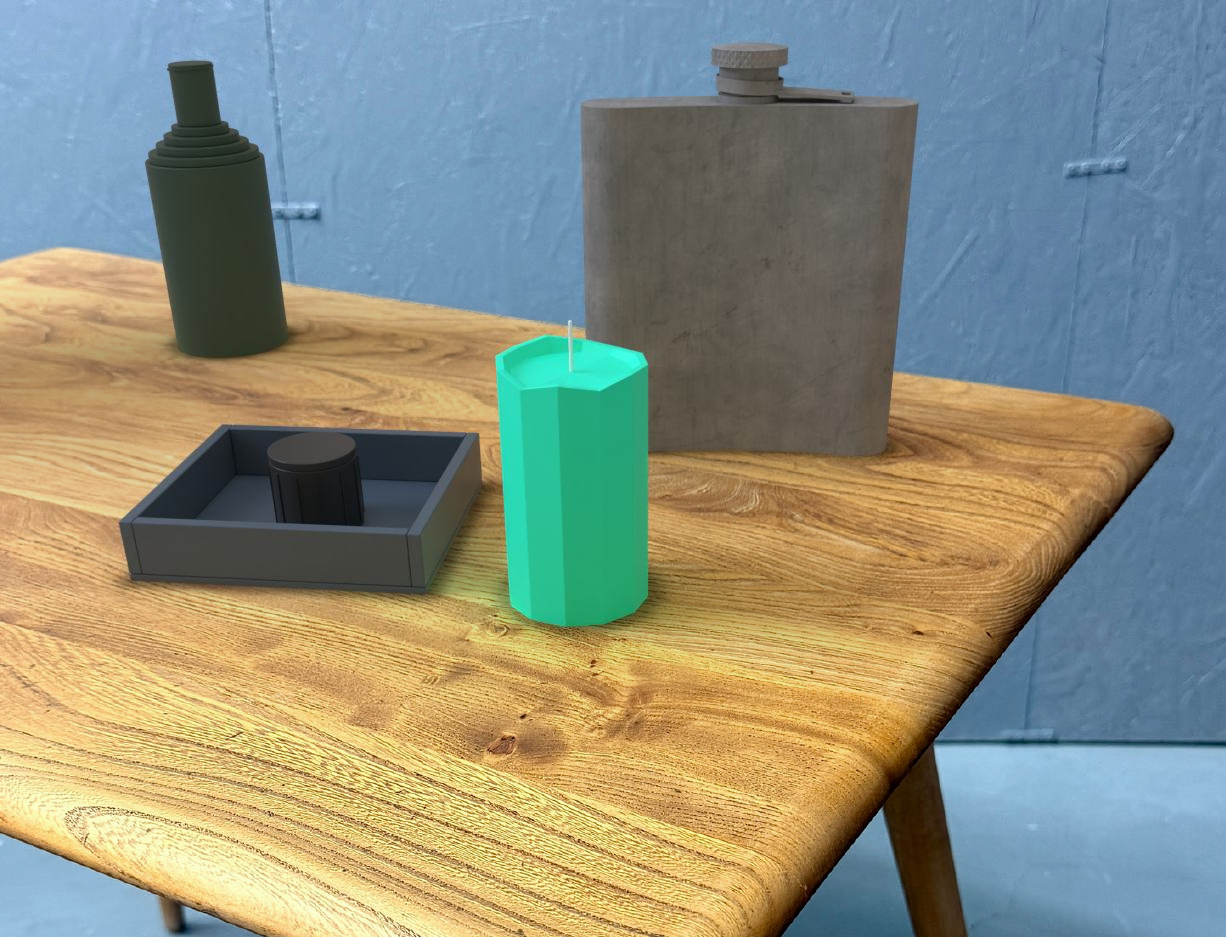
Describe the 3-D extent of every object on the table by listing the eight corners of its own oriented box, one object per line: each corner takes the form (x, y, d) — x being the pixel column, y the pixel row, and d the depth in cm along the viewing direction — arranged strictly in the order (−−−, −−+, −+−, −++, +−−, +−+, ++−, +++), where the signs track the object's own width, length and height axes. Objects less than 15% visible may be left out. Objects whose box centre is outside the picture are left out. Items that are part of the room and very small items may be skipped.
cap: (368, 504, 63) (360, 430, 61) (359, 539, 60) (350, 462, 58) (286, 507, 63) (275, 432, 61) (271, 543, 59) (259, 465, 58)
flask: (160, 360, 85) (106, 70, 76) (203, 328, 91) (158, 56, 83) (267, 363, 84) (224, 70, 76) (303, 330, 90) (268, 56, 82)
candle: (489, 580, 57) (471, 309, 51) (617, 556, 59) (613, 292, 53) (534, 644, 52) (519, 353, 47) (671, 615, 54) (674, 332, 48)
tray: (131, 586, 57) (117, 521, 56) (231, 480, 67) (221, 423, 66) (426, 600, 56) (420, 534, 54) (483, 490, 66) (479, 432, 64)
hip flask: (585, 458, 69) (576, 49, 60) (591, 430, 73) (583, 40, 63) (889, 461, 68) (929, 46, 59) (880, 433, 72) (916, 38, 62)
